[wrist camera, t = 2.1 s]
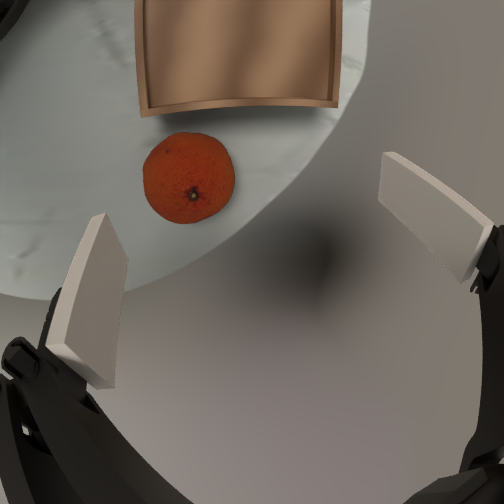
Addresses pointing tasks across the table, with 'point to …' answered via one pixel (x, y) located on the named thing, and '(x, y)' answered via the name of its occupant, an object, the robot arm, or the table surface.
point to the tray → (237, 53)
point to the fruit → (188, 177)
